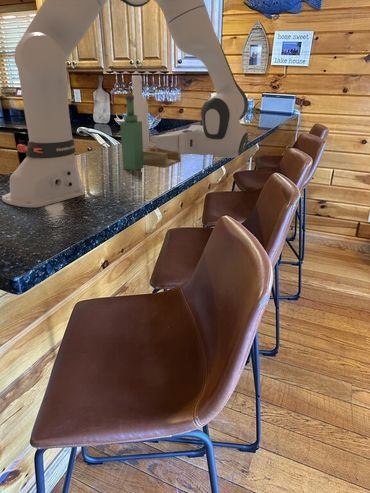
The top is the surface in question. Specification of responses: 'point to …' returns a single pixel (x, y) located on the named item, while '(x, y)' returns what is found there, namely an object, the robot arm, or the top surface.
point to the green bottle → (131, 138)
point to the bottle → (141, 109)
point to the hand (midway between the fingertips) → (159, 136)
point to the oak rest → (160, 157)
